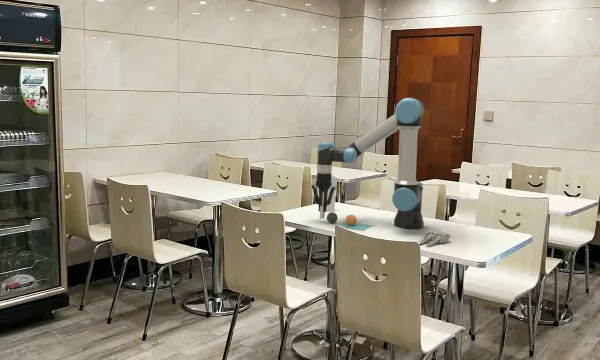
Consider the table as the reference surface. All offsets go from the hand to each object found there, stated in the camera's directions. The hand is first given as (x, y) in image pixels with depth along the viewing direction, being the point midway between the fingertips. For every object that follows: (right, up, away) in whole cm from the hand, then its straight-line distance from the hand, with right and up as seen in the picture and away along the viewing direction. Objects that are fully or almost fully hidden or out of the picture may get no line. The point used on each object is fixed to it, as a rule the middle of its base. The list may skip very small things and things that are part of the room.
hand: (322, 217), depth 303 cm
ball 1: (+5, 0, -2) cm, 6 cm away
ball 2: (+14, -1, -7) cm, 16 cm away
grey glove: (+49, -10, -34) cm, 61 cm away
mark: (+16, -4, -7) cm, 18 cm away
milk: (+4, +2, +30) cm, 30 cm away
